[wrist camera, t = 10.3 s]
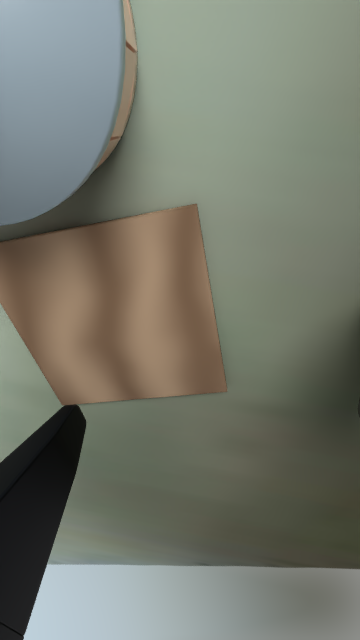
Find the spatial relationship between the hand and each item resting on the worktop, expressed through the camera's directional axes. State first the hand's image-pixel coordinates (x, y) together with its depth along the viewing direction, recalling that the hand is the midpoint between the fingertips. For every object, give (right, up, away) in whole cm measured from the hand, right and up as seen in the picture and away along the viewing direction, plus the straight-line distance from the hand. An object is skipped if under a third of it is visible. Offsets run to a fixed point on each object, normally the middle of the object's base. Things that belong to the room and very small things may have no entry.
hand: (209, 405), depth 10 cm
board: (-6, +2, +14) cm, 16 cm away
